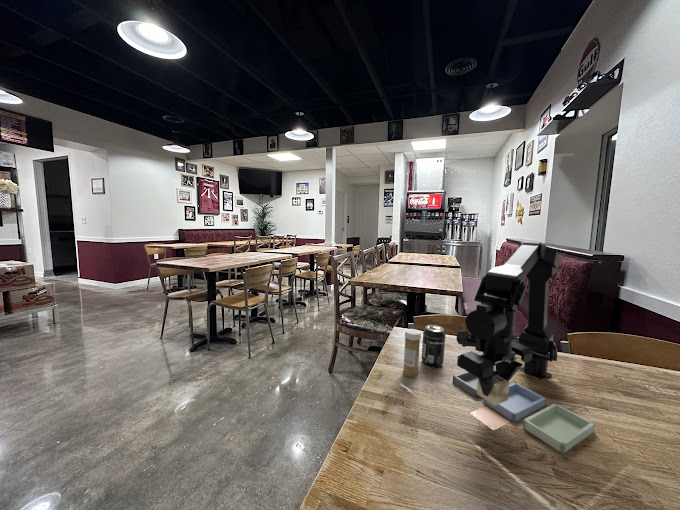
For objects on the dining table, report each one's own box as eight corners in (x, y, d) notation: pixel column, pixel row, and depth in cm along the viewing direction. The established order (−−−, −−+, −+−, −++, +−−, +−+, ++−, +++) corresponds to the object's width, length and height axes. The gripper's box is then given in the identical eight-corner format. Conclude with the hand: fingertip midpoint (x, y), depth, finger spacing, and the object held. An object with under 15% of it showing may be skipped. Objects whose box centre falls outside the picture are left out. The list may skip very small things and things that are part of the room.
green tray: (553, 412, 66) (554, 403, 66) (593, 434, 59) (595, 423, 59) (522, 429, 60) (523, 419, 60) (562, 456, 53) (564, 444, 53)
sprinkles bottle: (421, 375, 81) (424, 332, 80) (411, 379, 79) (413, 335, 77) (409, 368, 85) (412, 327, 83) (399, 372, 82) (401, 330, 81)
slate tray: (514, 390, 75) (515, 382, 74) (545, 407, 68) (546, 398, 68) (483, 404, 69) (484, 394, 68) (513, 424, 62) (514, 414, 62)
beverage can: (425, 355, 93) (427, 322, 92) (445, 362, 89) (448, 327, 88) (418, 363, 88) (420, 328, 86) (439, 370, 84) (442, 333, 82)
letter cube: (488, 389, 65) (490, 371, 65) (507, 400, 61) (509, 381, 61) (476, 394, 63) (478, 375, 63) (495, 405, 59) (496, 386, 59)
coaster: (485, 408, 67) (485, 406, 67) (509, 424, 62) (510, 422, 62) (469, 415, 64) (469, 413, 64) (493, 433, 59) (493, 430, 59)
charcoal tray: (482, 373, 83) (483, 365, 83) (507, 387, 76) (508, 378, 76) (452, 384, 77) (453, 375, 77) (476, 399, 70) (477, 390, 70)
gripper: (491, 311, 72) (485, 366, 74) (440, 321, 63) (435, 383, 65) (537, 325, 62) (529, 389, 64) (484, 340, 53) (477, 412, 55)
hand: (492, 392), depth 62 cm, fingers closed on letter cube, 4 cm apart
